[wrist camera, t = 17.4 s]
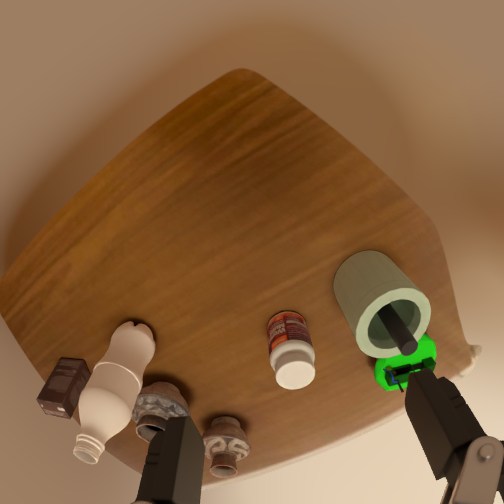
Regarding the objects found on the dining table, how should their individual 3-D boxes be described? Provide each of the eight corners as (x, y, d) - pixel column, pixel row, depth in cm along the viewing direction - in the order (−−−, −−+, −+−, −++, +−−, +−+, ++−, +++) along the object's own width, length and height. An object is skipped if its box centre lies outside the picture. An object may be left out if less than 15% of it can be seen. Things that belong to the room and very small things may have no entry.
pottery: (229, 443, 61) (227, 488, 49) (127, 390, 55) (109, 436, 43) (263, 420, 58) (266, 469, 46) (154, 359, 51) (137, 410, 40)
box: (68, 373, 54) (44, 414, 42) (60, 356, 52) (34, 397, 41) (92, 376, 54) (70, 420, 42) (85, 359, 52) (60, 403, 41)
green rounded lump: (364, 377, 54) (382, 420, 44) (369, 327, 50) (392, 370, 39) (420, 363, 53) (443, 401, 43) (430, 313, 49) (460, 350, 39)
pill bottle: (275, 305, 48) (282, 353, 37) (312, 315, 48) (327, 363, 38) (261, 337, 50) (264, 387, 39) (296, 345, 51) (307, 395, 40)
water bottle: (134, 355, 51) (87, 473, 28) (110, 324, 49) (45, 439, 26) (166, 344, 50) (127, 472, 27) (142, 310, 48) (82, 435, 24)
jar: (329, 257, 45) (354, 299, 34) (394, 244, 44) (433, 279, 33) (336, 316, 49) (356, 366, 37) (395, 302, 48) (426, 346, 37)
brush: (351, 273, 45) (393, 338, 30) (379, 267, 45) (428, 327, 30) (353, 299, 47) (391, 368, 32) (380, 293, 47) (424, 357, 32)
